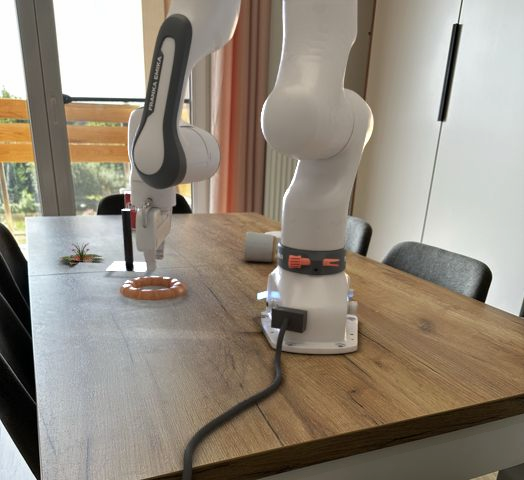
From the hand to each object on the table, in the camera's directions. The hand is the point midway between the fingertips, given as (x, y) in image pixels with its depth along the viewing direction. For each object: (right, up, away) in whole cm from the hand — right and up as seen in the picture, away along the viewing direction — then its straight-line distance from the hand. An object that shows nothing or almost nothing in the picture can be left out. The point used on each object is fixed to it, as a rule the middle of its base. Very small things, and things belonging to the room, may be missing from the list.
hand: (155, 264), depth 107 cm
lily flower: (-23, +4, +22) cm, 33 cm away
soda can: (-20, +23, +68) cm, 74 cm away
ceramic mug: (+22, +6, +31) cm, 38 cm away
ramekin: (+27, +12, +46) cm, 55 cm away
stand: (-9, 0, +15) cm, 17 cm away
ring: (0, -6, -3) cm, 7 cm away
